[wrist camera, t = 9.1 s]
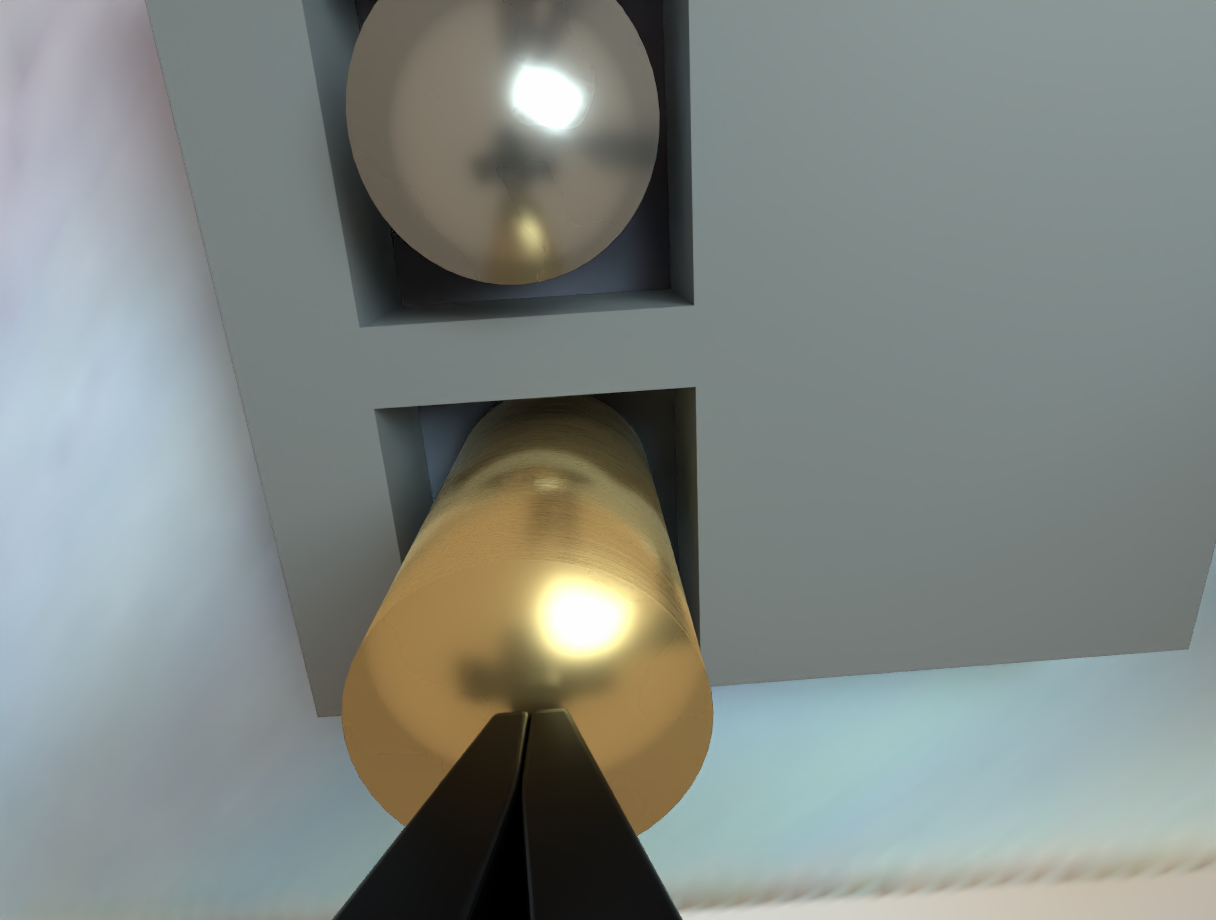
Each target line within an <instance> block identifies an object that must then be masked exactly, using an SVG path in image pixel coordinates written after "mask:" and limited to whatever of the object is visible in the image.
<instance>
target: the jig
mask: <svg viewBox="0 0 1216 920" xmlns="http://www.w3.org/2000/svg"><path fill="white" fill-rule="evenodd" d="M145 2H146V6H147V10H148V14H149V19H150V23H151V27H152V31H153V35H154V39H155V43H156V48H157V52H158V56H159V60H160V64H161V68H162V72H163V77H164V81H165V85H166V89H167V93H168V97H169V101H170V106H171V110H172V114H173V118H174V122H175V126H176V131H177V135H178V139H179V143H180V147H181V151H182V155H183V160H184V164H185V168H186V172H187V176H188V180H189V184H190V189H191V193H192V197H193V201H194V205H195V209H196V213H197V218H198V222H199V226H200V230H201V234H202V238H203V243H204V247H205V251H206V255H207V259H208V263H209V267H210V272H211V276H212V280H213V284H214V288H215V292H216V296H217V301H218V305H219V309H220V313H221V317H222V321H223V325H224V330H225V334H226V338H227V342H228V346H229V350H230V354H231V359H232V363H233V367H234V371H235V375H236V379H237V384H238V388H239V392H240V396H241V400H242V404H243V408H244V413H245V417H246V421H247V425H248V429H249V433H250V437H251V442H252V446H253V450H254V454H255V458H256V462H257V466H258V471H259V475H260V479H261V483H262V487H263V491H264V496H265V500H266V504H267V508H268V512H269V516H270V520H271V525H272V529H273V533H274V537H275V541H276V545H277V549H278V554H279V558H280V562H281V566H282V570H283V574H284V578H285V583H286V587H287V591H288V595H289V599H290V603H291V607H292V612H293V616H294V620H295V624H296V628H297V632H298V637H299V641H300V645H301V649H302V653H303V657H304V661H305V666H306V670H307V674H308V678H309V682H310V686H311V690H312V695H313V699H314V703H315V707H316V711H317V715H318V717H328V716H340V715H342V698H343V693H344V687H345V681H346V678H347V675H348V672H349V669H350V666H351V664H352V661H353V659H354V657H355V655H356V653H357V651H358V649H359V647H360V645H361V643H362V641H363V639H364V637H365V635H366V633H367V631H368V630H369V628H370V626H371V624H372V622H373V620H374V618H375V616H376V614H377V612H378V610H379V608H380V606H381V604H382V602H383V600H384V598H385V596H386V595H387V593H388V591H389V589H390V587H391V585H392V583H393V581H394V579H395V577H396V575H397V573H398V571H399V569H400V567H401V565H402V563H403V561H404V560H405V558H406V556H407V554H408V552H409V550H410V548H411V546H412V544H413V542H414V540H415V538H416V536H417V534H418V532H419V530H420V528H421V526H422V525H423V523H424V521H425V519H426V517H427V515H428V513H429V511H430V509H431V507H432V505H433V502H432V495H431V489H430V482H429V476H428V469H427V463H426V456H425V450H424V444H423V437H422V431H421V424H420V418H419V411H418V406H424V405H439V404H454V403H468V402H483V401H497V400H512V399H526V398H541V397H556V396H570V395H585V394H599V393H614V392H628V391H643V390H657V389H672V388H674V409H675V443H676V478H677V513H678V548H679V575H680V579H681V583H682V586H683V590H684V593H685V597H686V601H687V604H688V608H689V611H690V615H691V619H692V622H693V626H694V630H695V633H696V637H697V640H698V644H699V648H700V651H701V655H702V659H703V662H704V666H705V669H706V673H707V677H708V681H709V685H710V687H711V686H724V685H737V684H750V683H762V682H775V681H788V680H801V679H813V678H826V677H839V676H852V675H865V674H877V673H890V672H903V671H916V670H928V669H941V668H954V667H967V666H980V665H992V664H1005V663H1018V662H1031V661H1044V660H1056V659H1069V658H1082V657H1095V656H1107V655H1120V654H1133V653H1146V652H1159V651H1171V650H1184V649H1189V645H1190V641H1191V637H1192V633H1193V629H1194V625H1195V622H1196V618H1197V614H1198V610H1199V606H1200V602H1201V598H1202V594H1203V590H1204V586H1205V582H1206V578H1207V574H1208V571H1209V567H1210V563H1211V559H1212V555H1213V551H1214V547H1215V543H1216V0H663V26H664V60H665V95H666V130H667V165H668V200H669V234H670V269H671V289H659V290H644V291H629V292H614V293H598V294H583V295H568V296H552V297H537V298H522V299H507V300H491V301H476V302H461V303H446V304H430V305H415V306H402V302H401V295H400V289H399V282H398V276H397V270H396V263H395V257H394V250H393V244H392V237H391V231H390V225H389V223H388V222H387V221H386V220H385V219H384V217H383V216H382V214H381V213H380V211H379V210H378V208H377V207H376V205H375V204H374V202H373V201H372V199H371V197H370V195H369V193H368V191H367V189H366V187H365V185H364V183H363V181H362V179H361V177H360V174H359V171H358V168H357V166H356V163H355V160H354V157H353V153H352V149H351V145H350V140H349V136H348V128H347V119H346V86H347V79H348V71H349V65H350V62H351V58H352V54H353V50H354V46H355V43H356V41H357V39H358V36H359V34H360V31H359V25H358V18H357V12H356V5H355V0H145Z"/></svg>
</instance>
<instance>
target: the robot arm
mask: <svg viewBox="0 0 1216 920" xmlns="http://www.w3.org/2000/svg"><path fill="white" fill-rule="evenodd" d="M332 920H683V919H682V918H681V916H680V914H679V912H678V910H677V908H676V907H675V905H674V903H673V901H672V899H671V898H670V896H669V894H668V892H667V890H666V888H665V887H664V885H663V883H662V881H661V879H660V877H659V876H658V874H657V872H656V870H655V868H654V866H653V865H652V863H651V861H650V859H649V857H648V855H647V854H646V852H645V850H644V848H643V846H642V844H641V843H640V841H639V839H638V837H637V835H636V834H635V832H634V830H633V828H632V826H631V824H630V823H629V821H628V819H627V817H626V815H625V813H624V812H623V810H622V808H621V806H620V804H619V802H618V801H617V799H616V797H615V795H614V793H613V791H612V790H611V788H610V786H609V784H608V782H607V780H606V779H605V777H604V775H603V773H602V771H601V770H600V768H599V766H598V764H597V762H596V760H595V759H594V757H593V755H592V753H591V751H590V749H589V748H588V746H587V744H586V742H585V740H584V738H583V737H582V735H581V733H580V731H579V729H578V727H577V726H576V724H575V722H574V720H573V718H572V717H571V715H570V713H569V712H568V710H567V709H565V708H555V709H542V710H535V711H534V712H533V713H532V715H530V714H529V712H527V711H517V712H504V713H497V714H495V715H494V716H493V717H492V718H491V719H490V720H489V721H488V723H487V724H486V725H485V726H484V728H483V729H482V730H481V731H480V733H479V734H478V735H477V737H476V738H475V739H474V740H473V742H472V743H471V744H470V745H469V747H468V748H467V749H466V751H465V752H464V753H463V754H462V756H461V757H460V758H459V759H458V761H457V762H456V763H455V765H454V766H453V767H452V768H451V770H450V771H449V772H448V773H447V775H446V776H445V777H444V778H443V780H442V781H441V782H440V784H439V785H438V786H437V787H436V789H435V790H434V791H433V792H432V794H431V795H430V796H429V798H428V799H427V800H426V801H425V803H424V804H423V805H422V806H421V808H420V809H419V810H418V812H417V813H416V814H415V815H414V817H413V818H412V819H411V820H410V822H409V823H408V824H407V825H406V827H405V828H404V829H403V831H402V832H401V833H400V834H399V836H398V837H397V838H396V839H395V841H394V842H393V843H392V845H391V846H390V847H389V848H388V850H387V851H386V852H385V853H384V855H383V856H382V857H381V859H380V860H379V861H378V862H377V864H376V865H375V866H374V867H373V869H372V870H371V871H370V872H369V874H368V875H367V876H366V878H365V879H364V880H363V881H362V883H361V884H360V885H359V886H358V888H357V889H356V890H355V892H354V893H353V894H352V895H351V897H350V898H349V899H348V900H347V902H346V903H345V904H344V906H343V907H342V908H341V909H340V911H339V912H338V913H337V914H336V916H335V917H334V918H333V919H332Z"/></svg>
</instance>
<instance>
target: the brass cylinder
mask: <svg viewBox="0 0 1216 920" xmlns="http://www.w3.org/2000/svg"><path fill="white" fill-rule="evenodd" d="M555 708H565V709H567V710H568V712H569V713H570V715H571V717H572V718H573V720H574V722H575V724H576V726H577V727H578V729H579V731H580V733H581V735H582V737H583V738H584V740H585V742H586V744H587V746H588V748H589V749H590V751H591V753H592V755H593V757H594V759H595V760H596V762H597V764H598V766H599V768H600V770H601V771H602V773H603V775H604V777H605V779H606V780H607V782H608V784H609V786H610V788H611V790H612V791H613V793H614V795H615V797H616V799H617V801H618V802H619V804H620V806H621V808H622V810H623V812H624V813H625V815H626V817H627V819H628V821H629V823H630V824H631V826H632V828H633V830H634V832H635V834H636V835H639V834H641V833H642V832H644V831H646V830H647V829H649V828H650V827H651V826H653V825H654V824H655V823H656V822H658V821H659V820H660V819H661V818H663V817H664V816H665V815H666V814H667V813H668V812H669V811H670V810H671V809H672V808H673V807H674V806H675V805H676V804H677V803H678V802H679V801H680V800H681V798H682V797H683V796H684V794H685V793H686V792H687V790H688V789H689V788H690V787H691V785H692V783H693V781H694V780H695V778H696V776H697V774H698V773H699V771H700V769H701V767H702V764H703V762H704V759H705V757H706V754H707V751H708V748H709V743H710V739H711V734H712V725H713V703H712V693H711V688H710V685H709V681H708V677H707V673H706V669H705V666H704V662H703V659H702V655H701V651H700V648H699V644H698V640H697V637H696V633H695V630H694V626H693V622H692V619H691V615H690V611H689V608H688V604H687V601H686V597H685V593H684V590H683V586H682V583H681V579H680V575H679V572H678V568H677V564H676V561H675V557H674V554H673V550H672V546H671V543H670V539H669V536H668V532H667V528H666V525H665V521H664V517H663V514H662V510H661V507H660V503H659V499H658V496H657V492H656V488H655V485H654V481H653V478H652V474H651V470H650V467H649V463H648V460H647V456H646V453H645V450H644V448H643V445H642V443H641V441H640V439H639V438H638V436H637V434H636V432H635V431H634V430H633V428H632V427H631V426H630V425H629V423H628V422H627V421H626V420H625V419H624V418H623V417H622V416H621V415H620V414H619V413H618V412H616V411H615V410H614V409H612V408H611V407H610V406H608V405H607V404H605V403H603V402H601V401H599V400H598V399H595V398H593V397H590V396H588V395H570V396H556V397H541V398H526V399H512V400H506V401H504V402H502V403H500V404H499V405H497V406H495V407H494V408H493V409H492V410H490V411H489V412H488V413H486V414H485V415H484V416H483V417H482V418H481V420H480V421H479V422H478V423H477V424H476V425H475V427H474V428H473V429H472V431H471V432H470V434H469V435H468V437H467V439H466V441H465V443H464V445H463V447H462V449H461V451H460V453H459V455H458V457H457V458H456V460H455V462H454V464H453V466H452V468H451V470H450V472H449V474H448V476H447V478H446V480H445V482H444V484H443V486H442V488H441V490H440V491H439V493H438V495H437V497H436V499H435V501H434V503H433V505H432V507H431V509H430V511H429V513H428V515H427V517H426V519H425V521H424V523H423V525H422V526H421V528H420V530H419V532H418V534H417V536H416V538H415V540H414V542H413V544H412V546H411V548H410V550H409V552H408V554H407V556H406V558H405V560H404V561H403V563H402V565H401V567H400V569H399V571H398V573H397V575H396V577H395V579H394V581H393V583H392V585H391V587H390V589H389V591H388V593H387V595H386V596H385V598H384V600H383V602H382V604H381V606H380V608H379V610H378V612H377V614H376V616H375V618H374V620H373V622H372V624H371V626H370V628H369V630H368V631H367V633H366V635H365V637H364V639H363V641H362V643H361V645H360V647H359V649H358V651H357V653H356V655H355V657H354V659H353V661H352V664H351V666H350V669H349V672H348V675H347V678H346V681H345V687H344V693H343V698H342V725H343V731H344V738H345V742H346V745H347V749H348V752H349V755H350V758H351V761H352V763H353V765H354V767H355V769H356V771H357V773H358V775H359V777H360V779H361V780H362V781H363V783H364V784H365V786H366V787H367V789H368V790H369V792H370V793H371V795H372V796H373V797H374V798H375V799H376V800H377V801H378V802H379V803H380V805H381V806H382V807H383V808H384V809H385V810H386V811H387V812H388V813H390V814H391V815H392V816H393V817H394V818H395V819H397V820H398V821H399V822H400V823H401V824H403V825H404V826H406V825H407V824H408V823H409V822H410V820H411V819H412V818H413V817H414V815H415V814H416V813H417V812H418V810H419V809H420V808H421V806H422V805H423V804H424V803H425V801H426V800H427V799H428V798H429V796H430V795H431V794H432V792H433V791H434V790H435V789H436V787H437V786H438V785H439V784H440V782H441V781H442V780H443V778H444V777H445V776H446V775H447V773H448V772H449V771H450V770H451V768H452V767H453V766H454V765H455V763H456V762H457V761H458V759H459V758H460V757H461V756H462V754H463V753H464V752H465V751H466V749H467V748H468V747H469V745H470V744H471V743H472V742H473V740H474V739H475V738H476V737H477V735H478V734H479V733H480V731H481V730H482V729H483V728H484V726H485V725H486V724H487V723H488V721H489V720H490V719H491V718H492V717H493V716H494V715H495V714H497V713H504V712H517V711H527V712H529V714H530V715H532V713H533V712H534V711H535V710H542V709H555Z"/></svg>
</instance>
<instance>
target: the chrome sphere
mask: <svg viewBox="0 0 1216 920" xmlns="http://www.w3.org/2000/svg"><path fill="white" fill-rule="evenodd" d="M659 116H660V115H659V104H658V94H657V88H656V84H655V79H654V75H653V70H652V67H651V64H650V61H649V58H648V55H647V53H646V50H645V47H644V45H643V43H642V41H641V39H640V37H639V35H638V33H637V31H636V29H635V27H634V25H633V24H632V22H631V21H630V19H629V18H628V16H627V14H626V13H625V11H624V10H623V8H622V7H621V6H620V5H619V3H618V2H617V1H616V0H378V1H377V2H376V4H375V5H374V7H373V8H372V10H371V12H370V14H369V15H368V17H367V19H366V21H365V22H364V24H363V26H362V29H361V31H360V34H359V36H358V39H357V41H356V43H355V46H354V50H353V54H352V58H351V62H350V65H349V71H348V79H347V86H346V119H347V128H348V136H349V140H350V145H351V149H352V153H353V157H354V160H355V163H356V166H357V168H358V171H359V174H360V177H361V179H362V181H363V183H364V185H365V187H366V189H367V191H368V193H369V195H370V197H371V199H372V201H373V202H374V204H375V205H376V207H377V208H378V210H379V211H380V213H381V214H382V216H383V217H384V219H385V220H386V221H387V222H388V223H389V225H390V226H391V227H392V228H393V229H394V231H395V232H396V233H397V234H398V235H399V236H400V237H401V238H402V239H403V240H404V241H406V242H407V243H408V244H409V245H410V246H411V247H412V248H413V249H415V250H416V251H417V252H419V253H420V254H421V255H423V256H424V257H425V258H427V259H428V260H430V261H432V262H433V263H435V264H437V265H439V266H440V267H442V268H444V269H446V270H448V271H451V272H453V273H455V274H458V275H460V276H463V277H466V278H470V279H473V280H477V281H481V282H486V283H494V284H501V285H521V284H529V283H536V282H541V281H545V280H549V279H552V278H556V277H559V276H561V275H564V274H566V273H568V272H570V271H573V270H575V269H577V268H579V267H580V266H582V265H583V264H585V263H587V262H588V261H590V260H592V259H593V258H594V257H596V256H597V255H598V254H599V253H601V252H602V251H603V250H604V249H606V248H607V247H608V246H609V245H610V244H611V243H612V242H613V241H614V239H615V238H616V237H617V236H618V235H619V234H620V233H621V232H622V231H623V229H624V228H625V226H626V225H627V224H628V222H629V221H630V220H631V218H632V217H633V215H634V213H635V212H636V210H637V208H638V206H639V204H640V203H641V201H642V199H643V197H644V194H645V192H646V189H647V187H648V184H649V182H650V179H651V175H652V172H653V168H654V164H655V160H656V155H657V148H658V141H659Z"/></svg>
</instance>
